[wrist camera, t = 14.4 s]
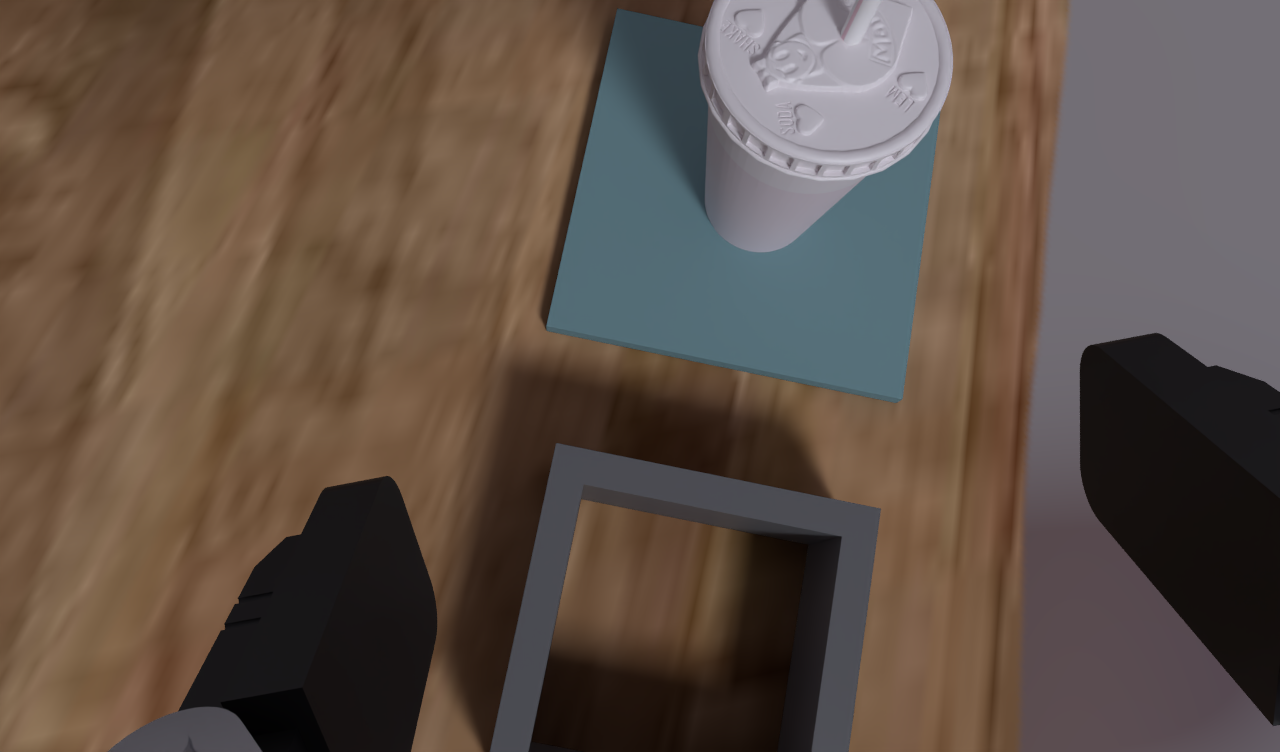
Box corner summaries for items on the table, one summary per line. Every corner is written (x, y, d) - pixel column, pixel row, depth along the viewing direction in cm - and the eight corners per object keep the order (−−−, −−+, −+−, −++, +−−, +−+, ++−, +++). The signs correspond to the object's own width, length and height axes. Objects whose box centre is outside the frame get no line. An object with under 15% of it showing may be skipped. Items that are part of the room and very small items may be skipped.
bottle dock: (491, 769, 30) (480, 794, 26) (556, 462, 32) (556, 442, 28) (798, 829, 30) (833, 862, 26) (842, 519, 32) (880, 509, 28)
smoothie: (883, 243, 34) (1094, 0, 20) (719, 321, 33) (826, 120, 19) (793, 88, 35) (936, -240, 21) (632, 159, 34) (675, -138, 20)
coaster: (546, 330, 33) (546, 325, 32) (616, 17, 36) (617, 8, 35) (896, 402, 33) (902, 399, 33) (938, 87, 36) (944, 79, 36)
